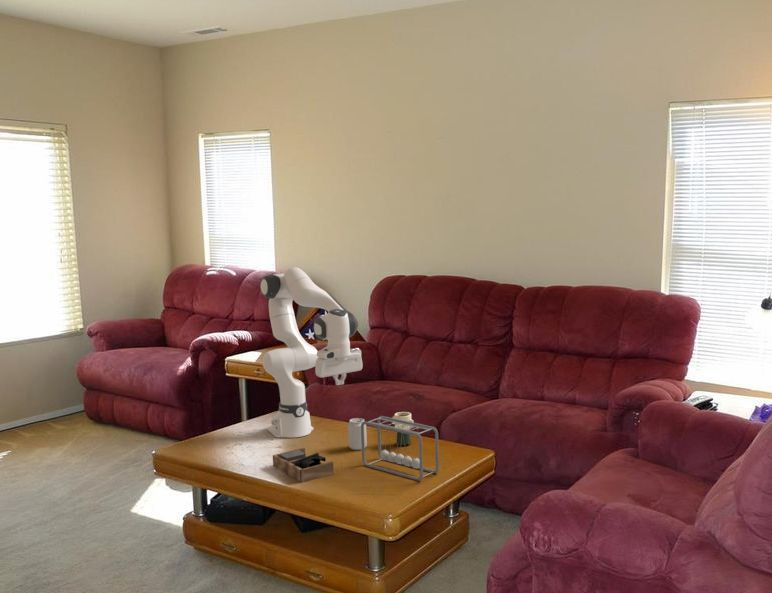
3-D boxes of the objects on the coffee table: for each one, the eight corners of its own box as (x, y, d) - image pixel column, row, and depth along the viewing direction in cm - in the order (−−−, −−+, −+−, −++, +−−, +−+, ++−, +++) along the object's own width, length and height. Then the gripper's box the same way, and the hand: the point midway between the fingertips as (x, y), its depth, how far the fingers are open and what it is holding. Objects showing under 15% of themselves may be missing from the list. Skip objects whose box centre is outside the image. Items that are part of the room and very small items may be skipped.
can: (364, 451, 306) (363, 422, 305) (347, 450, 308) (345, 422, 306) (368, 445, 314) (367, 417, 312) (351, 444, 315) (350, 417, 314)
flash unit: (280, 467, 290) (279, 454, 290) (300, 463, 295) (299, 449, 294) (287, 472, 285) (287, 458, 285) (307, 467, 290) (306, 453, 289)
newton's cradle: (439, 474, 277) (438, 427, 275) (422, 482, 270) (420, 434, 267) (380, 458, 297) (378, 414, 295) (361, 465, 290) (360, 420, 287)
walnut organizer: (273, 466, 292) (272, 455, 291) (304, 458, 300) (303, 447, 299) (301, 482, 273) (301, 470, 273) (333, 473, 281) (333, 462, 281)
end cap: (314, 468, 288) (313, 451, 288) (327, 472, 284) (326, 454, 283) (294, 475, 281) (293, 458, 280) (307, 479, 276) (307, 462, 275)
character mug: (419, 444, 312) (418, 413, 311) (409, 448, 307) (408, 418, 305) (398, 439, 319) (397, 410, 318) (388, 444, 314) (387, 414, 312)
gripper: (356, 345, 305) (357, 378, 307) (312, 352, 293) (313, 387, 295) (365, 348, 300) (365, 381, 302) (320, 355, 288) (321, 390, 290)
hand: (339, 384), depth 298 cm, fingers closed
